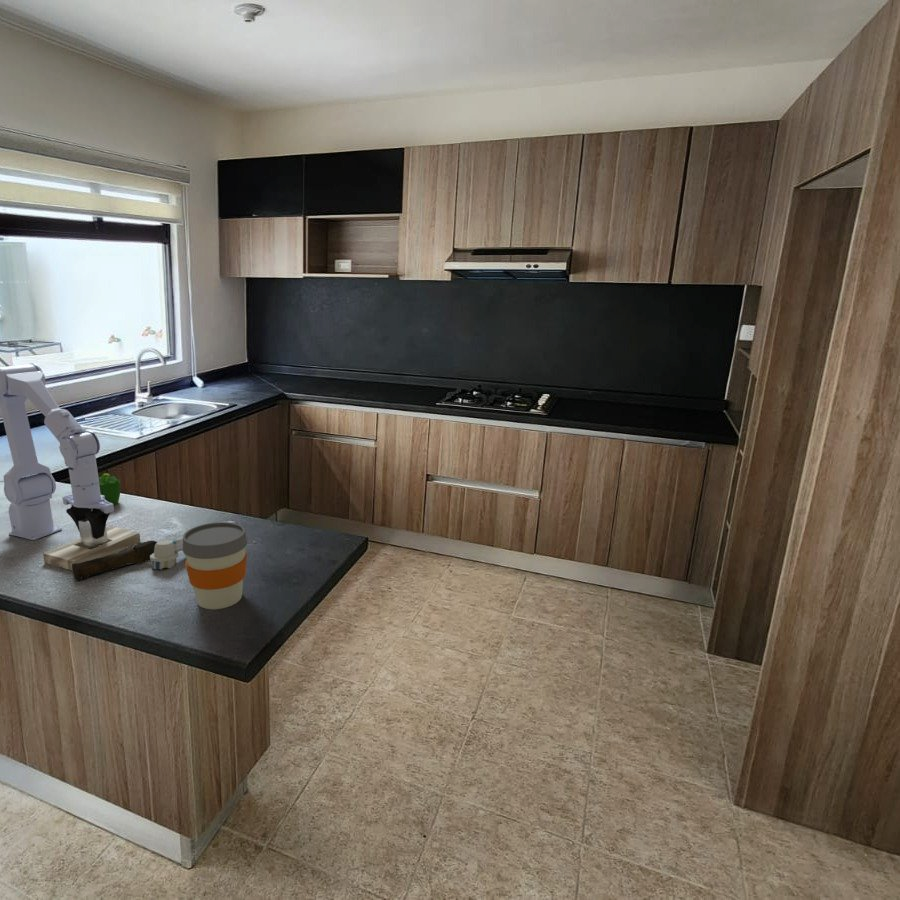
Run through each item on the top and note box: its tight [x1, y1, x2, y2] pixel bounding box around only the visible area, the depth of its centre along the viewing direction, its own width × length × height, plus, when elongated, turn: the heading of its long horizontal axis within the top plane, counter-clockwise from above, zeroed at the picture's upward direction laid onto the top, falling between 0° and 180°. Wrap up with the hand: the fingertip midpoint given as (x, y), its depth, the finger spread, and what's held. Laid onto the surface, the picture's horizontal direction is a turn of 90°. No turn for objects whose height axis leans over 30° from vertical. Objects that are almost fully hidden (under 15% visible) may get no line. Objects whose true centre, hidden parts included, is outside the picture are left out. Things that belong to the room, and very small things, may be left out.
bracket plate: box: [42, 526, 141, 572], centre depth 146 cm, size 10×18×2 cm, turn 159°
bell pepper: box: [98, 472, 122, 506], centre depth 175 cm, size 8×8×10 cm
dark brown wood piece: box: [71, 540, 158, 582], centre depth 138 cm, size 19×4×5 cm, turn 134°
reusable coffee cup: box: [182, 521, 248, 610], centre depth 125 cm, size 13×13×15 cm
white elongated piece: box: [150, 519, 239, 570], centre depth 148 cm, size 5×7×25 cm
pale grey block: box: [78, 518, 108, 548], centre depth 145 cm, size 4×4×6 cm
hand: (92, 535), depth 145 cm, fingers closed on pale grey block, 4 cm apart
